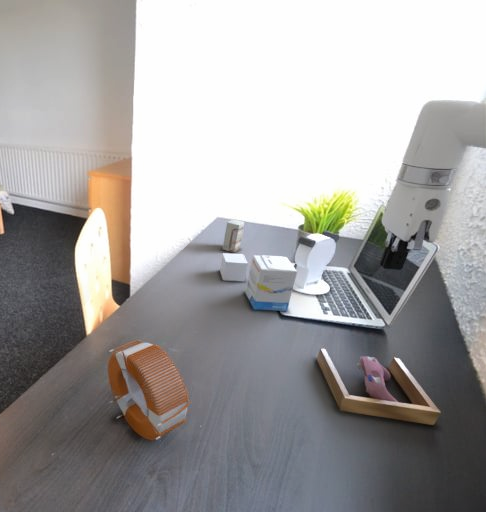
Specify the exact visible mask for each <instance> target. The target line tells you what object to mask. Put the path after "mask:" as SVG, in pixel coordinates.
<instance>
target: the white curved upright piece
mask: <svg viewBox="0 0 486 512" xmlns="http://www.w3.org/2000/svg"><path fill="white" fill-rule="evenodd" d="M339 240H340V235H339V234H338V233H335V232H333V231H332V232H331V231H328V230H325V229H324V230H323V231H322V233H321V234H320V233H311V234H308V235H307V236H304V235H301V236H300V237H299V238H298V241H297V242H298V244H299V245H298V246H297V248H296V251H295V254H294V262H295V264H293V267H294V268H295V269H296V271H297V274H296V278H295V282H294V286H293V290H292V291H295V292H298V293H301V294H306V295H312V296H320V295H325V294H327V293H329V292H330V285H329V283H327V282H326V281H324V280H323V279H322V276H323V274H324V271H325V268H326V266H327V265H328V264H329V263H330V262H331V260H332V259H333V257H334V256H335V253H336V247H337V246H336V243H338V242H339Z"/></svg>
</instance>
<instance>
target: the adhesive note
mask: <svg viewBox="0 0 486 512" xmlns="http://www.w3.org/2000/svg"><path fill="white" fill-rule="evenodd" d="M220 261H221V262H220V268H219V272H220V275H221V279H222V280H223V281H231V282H245V281H246V276H247V271H248V265H249V262H248V261H247V259H246V256H245V254H244V253H228V252H227V253H226V252H225V253H224V252H223V253H222V255H221V260H220Z"/></svg>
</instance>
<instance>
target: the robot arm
mask: <svg viewBox="0 0 486 512" xmlns="http://www.w3.org/2000/svg"><path fill="white" fill-rule="evenodd" d="M468 147H474V148H481V149H486V97H485V98H482V99H481V100H474V99H463V98H462V99H459V98H458V99H457V98H443V99H442V98H439V99H433V100H428V101H427V102H425V103H424V104H423V105H422V106H421V108H420V110H419V112H418V115H417V118H416V121H415V124H414V127H413V129H412V133H411V135H410V139H409V140H408V144H407V147H406V150H405V152H404V156H403V159H402V162H401V163H400V167H399V169H398V172H397V175H396V178H395V182H396V183H395V184H394V186H393V189H392V191H391V193H390V195H389V196H388V197H389V198H388V200H387V202H386V205H385V207H384V211H383V214H382V217H381V225H382V226H383V227H384V231H385V232H386V235H387V236H386V238H385V239H386V240H385V248H384V251H383V253H382V256H381V259H380V261H379V266H381V267H382V268H383V269H385V270H394V271H395V270H396V271H401V270H403V268H404V266H405V263H406V262H407V261H406V260H407V258H408V256H409V253H412V251H421V250H422V248H423V244H424V242H426V243H429V244H432V243H435V242H436V240H437V239H438V236H439V234H440V231H441V230H442V226H443V223H444V220H445V217H446V214H447V210H448V207H449V203H450V197H451V191H452V189H451V187H452V185H453V183H454V181H455V178H456V176H457V173H458V170H459V168H460V167H461V163H462V162H463V158H464V156H465V155H466V151H467V150H468Z"/></svg>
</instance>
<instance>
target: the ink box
mask: <svg viewBox="0 0 486 512" xmlns="http://www.w3.org/2000/svg"><path fill="white" fill-rule="evenodd" d="M296 274H297V271H296V269H295V268H294V264H292V262H291V261H290V260H289V258H288V257H287V256H280V255H265V254H263V255H259V254H258V255H255V254H254V255H252V258H251V262H250V267H249V273H248V278H247V283H246V288H245V295H246V297H247V298H248V301H249V302H250V304H251V307H252V309H253V310H263V311H275V312H288V309H289V305H290V302H291V297H292V294H293V291H294V290H293V286H294V282H295V278H296Z"/></svg>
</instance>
